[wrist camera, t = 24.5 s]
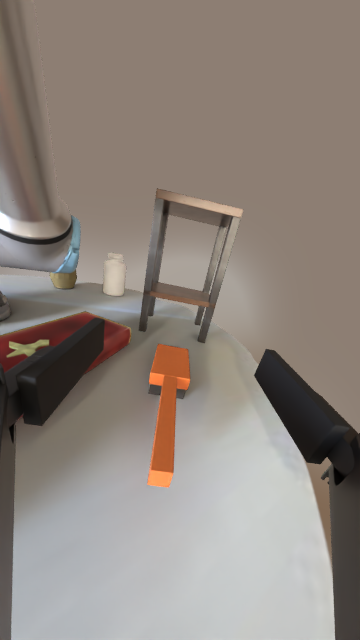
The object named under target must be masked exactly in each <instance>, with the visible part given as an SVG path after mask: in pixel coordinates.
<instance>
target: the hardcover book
mask: <svg viewBox="0 0 360 640" xmlns="http://www.w3.org/2000/svg"><path fill="white" fill-rule="evenodd" d="M95 317H96V318H101V319H105V318H103V317H100V316H97V315H94V314H91V313H89V312H86V311H85V312H81V313H78V314H74V315H71V316H67V317H64V318H60V319H56V320H53V321H49V322H46V323H42V324H39V325H35V326H32V327H28V328H25V329H21V330H18V331H14V332H11V333H7V334H3V335H0V363H1V364H2V366H3V370H4V373H5V372H6V371H8V370H9V369H11V368H12V367H14V366H15V365H17V364H18V363H20V362H21V361H24V359H26V358H27V357H29V356H31V355H32V354H33V353H35V352H36V351H38V350H39V349H42V348H44V347H47V346H49V345H50V346H56V345H58V344H59V343H60V342H62V341H63V340H65V339H66V338H67V337H69V336H70V335H71V334H73V333H74V332H75V331H77V330H78V329H80V328H81V327H82V326H84V325H85V324H86V323H88V322H89V321H90V320H92V319H93V318H95ZM130 340H131V328H130V327H127V326H125V325H122V324H119V323H116V322H114V321H111V320H108V319H105V329H104V350H103V351H102V352H101V353H100V355H99V356H98V357H97V358H96V360H95V361H94V362H93V363H92V365H91V366H90V367H89V368H88V370H87V371H86V372H85V373H84V374H86V373H87V372H89V371H90V370H91V369H93V368H94V367H96V366H97V365H99V364H100V363H102V362H103V361H105V360H106V359H108V358H109V357H110V356H112V355H113V354H115V353H116V352H118V351H119V350H121V349H122V348H124V347H125V346H127V345H128V344H129V343H130ZM84 374H83V375H84ZM21 417H23V415H22V416H21ZM21 417H20V418H21ZM20 418H19V419H20Z"/></svg>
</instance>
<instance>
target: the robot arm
mask: <svg viewBox="0 0 360 640" xmlns="http://www.w3.org/2000/svg"><path fill="white" fill-rule="evenodd" d="M79 247H80V222H79V220H78V219H77V218H75V217H73V216H72V215H71V214H70V211H69V208H68V207H67V205H66V204H65V202H64V201H63V200H62V199H61V198H60V197H59V195H58V187H57V179H56V171H55V163H54V155H53V147H52V138H51V130H50V122H49V114H48V106H47V98H46V90H45V82H44V74H43V66H42V58H41V50H40V42H39V35H38V26H37V18H36V9H35V2H34V0H0V266H1V267H10V268H20V269H28V270H37V271H45V272H52V273H72V272H74V271H75V270H76V267H77V264H78V258H79ZM10 313H11V312H10V306H9V304H8V302H7V298H6V297H5V295H3V294H2V292H1V291H0V321H2V320H4V319H5V318H7V317H8V316H9V315H10ZM104 329H105V319H101V318H96V317H95V318H93V319H92V320H90V321H89V322H88V323H86V324H85V325H84V326H82V327H81V328H80V329H78V330H77V331H75V332H74V333H73V334H71V335H70V336H69V337H67V338H66V339H65V340H63V341H62V342H60V343H59V344H58V345H56V346H50V345H49V346H47V347H44V348H42V349H39V350H38V351H36V352H35V353H33V354H32V355H31V356H29V357H27V358H26V359H24V361H21V362H20V363H18V364H17V365H15V366H14V367H12V368H11V369H9V370H8V371H6V372H5V373H4V370H3V366H2V364H1V363H0V640H11V613H12V570H13V528H14V485H15V443H16V425H15V422H16V421H17V420H18V419H19V418H20V417H21V416H22V415H23V418H24V423H25V424H32V425H39V426H42V425H43V424H44V423H45V421H46V420H47V419H48V418H49V417H50V415H51V414H52V413H53V412H54V410H55V409H56V408H57V407H58V405H59V404H60V403H61V402H62V400H63V399H64V398H65V397H66V396H67V394H68V393H69V392H70V391H71V389H72V388H73V387H74V386H75V384H76V383H77V382H78V381H79V379H80V378H81V377H82V376H83V374H84V373H85V372H86V371H87V370H88V368H89V367H90V366H91V365H92V363H93V362H94V361H95V360H96V358H97V357H98V356H99V355H100V353H101V352H102V351H103V350H104ZM254 376H255V378H256V380H257V381H258V383H259V385H260V386H261V388H262V389H263V391H264V393H265V394H266V396H267V398H268V399H269V401H270V403H271V404H272V406H273V408H274V409H275V411H276V413H277V414H278V416H279V417H280V419H281V421H282V422H283V424H284V426H285V427H286V429H287V431H288V432H289V434H290V436H291V437H292V439H293V440H294V442H295V444H296V445H297V447H298V449H299V450H300V452H301V454H302V455H303V457H304V459H305V460H306V462H308V463H315V464H321V463H322V462H323V461H324V459H325V458H326V457H328V459H329V460H330V461H331V462H332V464H331V465H330V466H329V468H328V469H327V470H326V471H325V472H324V474H323V475H322V477H321V479H322V480H324V479H325V478H326V477H329V482H328V484H329V491H330V492H329V493H330V518H331V543H332V568H333V593H334V618H335V640H360V433H359V434H358V433H357V432H356V431H355V430H354V429H353V428H352V427H351V426H350V425H349V424H348V423H347V422H346V421H345V420H344V419H343V418H342V417H341V416H340V415H339V414H338V412H337V411H335V410H334V409H333V408H332V406H331V405H329V404H328V402H327V401H326V400H325V399H324V398H323V397H322V396H320V395H319V394H318V393H316V392H315V391H314V390H313V389H312V388H311V387H310V386H309V385H308V384H307V383H306V382H305V381H304V380H303V379H302V378H301V377H300V376H299V375H298V374H297V373H296V372H295V371H294V370H293V369H292V368H291V367H290V366H289V365H288V364H287V363H286V362H285V361H284V360H283V359H282V358H281V356H280V355H279V354H277V353H276V351H274V350H268V349H266V350H265V353H264V355H263V357H262V359H261V362H260V364H259V366H258V368H257V370H256V373H255V375H254Z"/></svg>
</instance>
